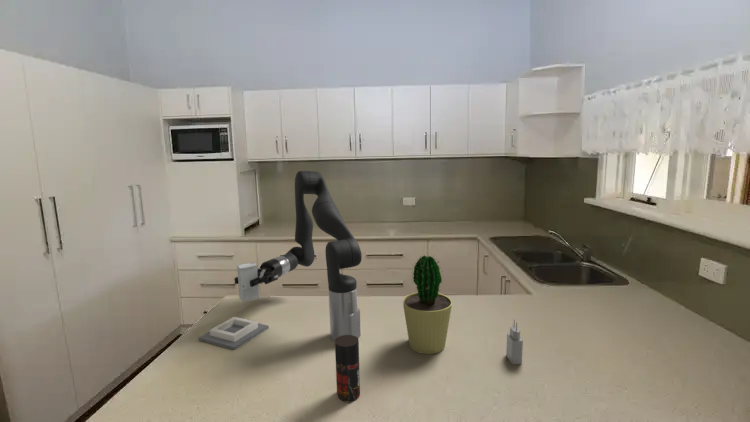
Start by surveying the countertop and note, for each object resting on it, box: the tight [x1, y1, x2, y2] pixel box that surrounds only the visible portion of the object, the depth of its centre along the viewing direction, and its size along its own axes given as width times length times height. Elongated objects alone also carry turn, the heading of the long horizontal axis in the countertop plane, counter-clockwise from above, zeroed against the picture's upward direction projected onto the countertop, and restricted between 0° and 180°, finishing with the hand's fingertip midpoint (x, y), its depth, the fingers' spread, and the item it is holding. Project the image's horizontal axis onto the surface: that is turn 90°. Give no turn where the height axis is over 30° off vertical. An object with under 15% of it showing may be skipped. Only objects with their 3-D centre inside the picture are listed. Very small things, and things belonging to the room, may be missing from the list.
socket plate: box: [198, 316, 270, 351], centre depth 132 cm, size 16×16×3 cm
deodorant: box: [334, 335, 361, 403], centre depth 98 cm, size 6×6×15 cm
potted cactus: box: [402, 254, 453, 355], centre depth 121 cm, size 15×15×30 cm
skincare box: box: [236, 262, 260, 303], centre depth 134 cm, size 6×4×12 cm
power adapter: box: [505, 319, 524, 365], centre depth 113 cm, size 3×5×12 cm, turn 1°
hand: (243, 282), depth 132 cm, fingers closed on skincare box, 6 cm apart
